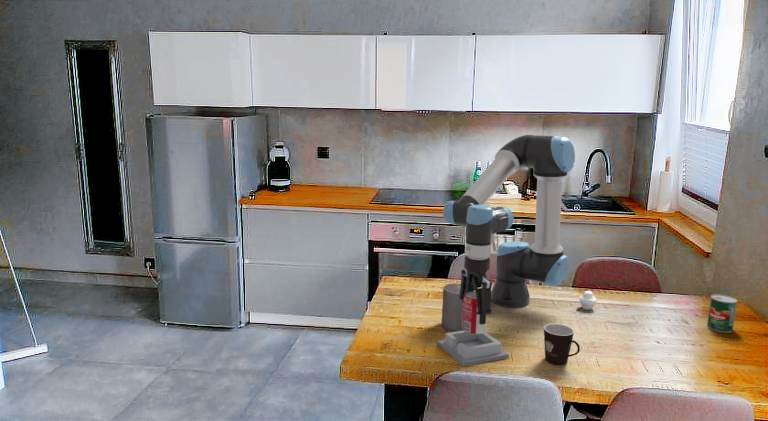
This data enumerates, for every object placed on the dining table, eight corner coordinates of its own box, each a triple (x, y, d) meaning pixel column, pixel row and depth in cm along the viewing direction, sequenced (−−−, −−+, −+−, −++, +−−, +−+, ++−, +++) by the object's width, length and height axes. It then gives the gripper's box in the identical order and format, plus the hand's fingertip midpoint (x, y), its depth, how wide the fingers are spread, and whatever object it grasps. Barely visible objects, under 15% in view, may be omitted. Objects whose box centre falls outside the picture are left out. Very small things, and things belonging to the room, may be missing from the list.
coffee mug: (537, 354, 173) (539, 324, 171) (564, 353, 174) (566, 323, 172) (551, 372, 162) (554, 340, 160) (580, 371, 163) (583, 339, 161)
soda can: (486, 328, 176) (488, 292, 173) (482, 337, 169) (484, 299, 167) (463, 325, 178) (465, 289, 175) (459, 334, 171) (461, 296, 169)
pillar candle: (440, 319, 199) (442, 279, 196) (468, 320, 199) (470, 280, 195) (442, 331, 189) (444, 289, 186) (471, 331, 189) (473, 289, 186)
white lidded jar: (597, 311, 209) (599, 293, 208) (581, 311, 209) (582, 293, 208) (592, 305, 215) (594, 288, 214) (576, 305, 215) (577, 287, 214)
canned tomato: (731, 326, 198) (735, 296, 196) (734, 334, 191) (739, 303, 189) (705, 322, 201) (709, 292, 199) (707, 330, 194) (712, 299, 192)
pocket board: (480, 336, 185) (481, 325, 184) (508, 357, 171) (509, 344, 170) (437, 344, 179) (437, 332, 178) (463, 366, 165) (463, 353, 164)
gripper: (450, 249, 176) (446, 318, 181) (484, 267, 158) (480, 343, 163) (470, 247, 179) (467, 315, 184) (507, 264, 161) (502, 339, 166)
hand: (473, 328), depth 173 cm, fingers closed on soda can, 7 cm apart
